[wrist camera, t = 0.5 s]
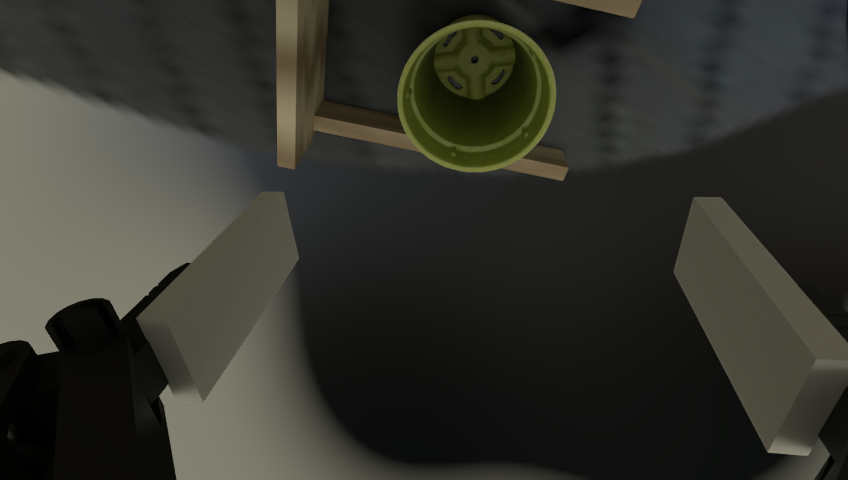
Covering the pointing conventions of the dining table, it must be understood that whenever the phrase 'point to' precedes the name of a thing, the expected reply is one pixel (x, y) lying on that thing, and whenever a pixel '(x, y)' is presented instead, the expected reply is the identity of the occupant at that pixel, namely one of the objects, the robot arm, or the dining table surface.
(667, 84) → the dining table surface
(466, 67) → the plant pot
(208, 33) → the dining table surface
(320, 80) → the notch rack
